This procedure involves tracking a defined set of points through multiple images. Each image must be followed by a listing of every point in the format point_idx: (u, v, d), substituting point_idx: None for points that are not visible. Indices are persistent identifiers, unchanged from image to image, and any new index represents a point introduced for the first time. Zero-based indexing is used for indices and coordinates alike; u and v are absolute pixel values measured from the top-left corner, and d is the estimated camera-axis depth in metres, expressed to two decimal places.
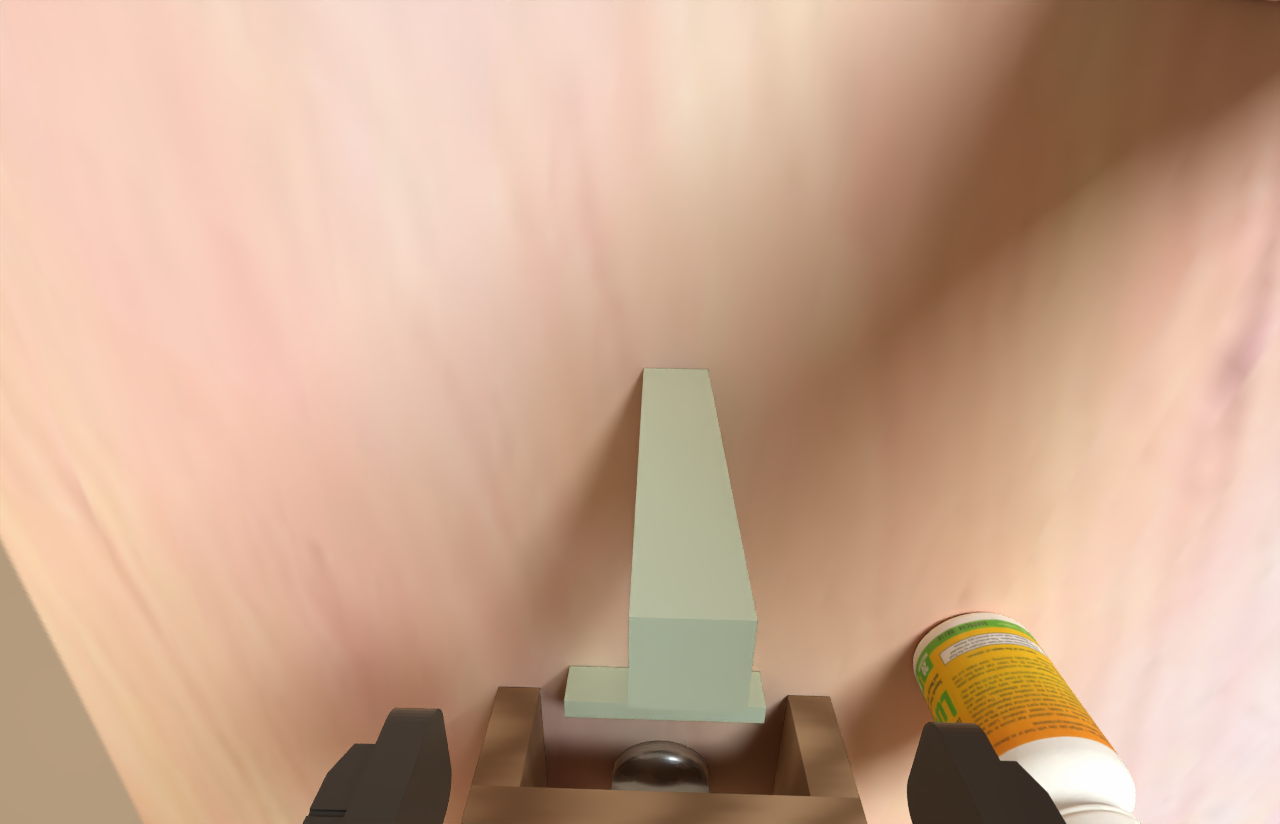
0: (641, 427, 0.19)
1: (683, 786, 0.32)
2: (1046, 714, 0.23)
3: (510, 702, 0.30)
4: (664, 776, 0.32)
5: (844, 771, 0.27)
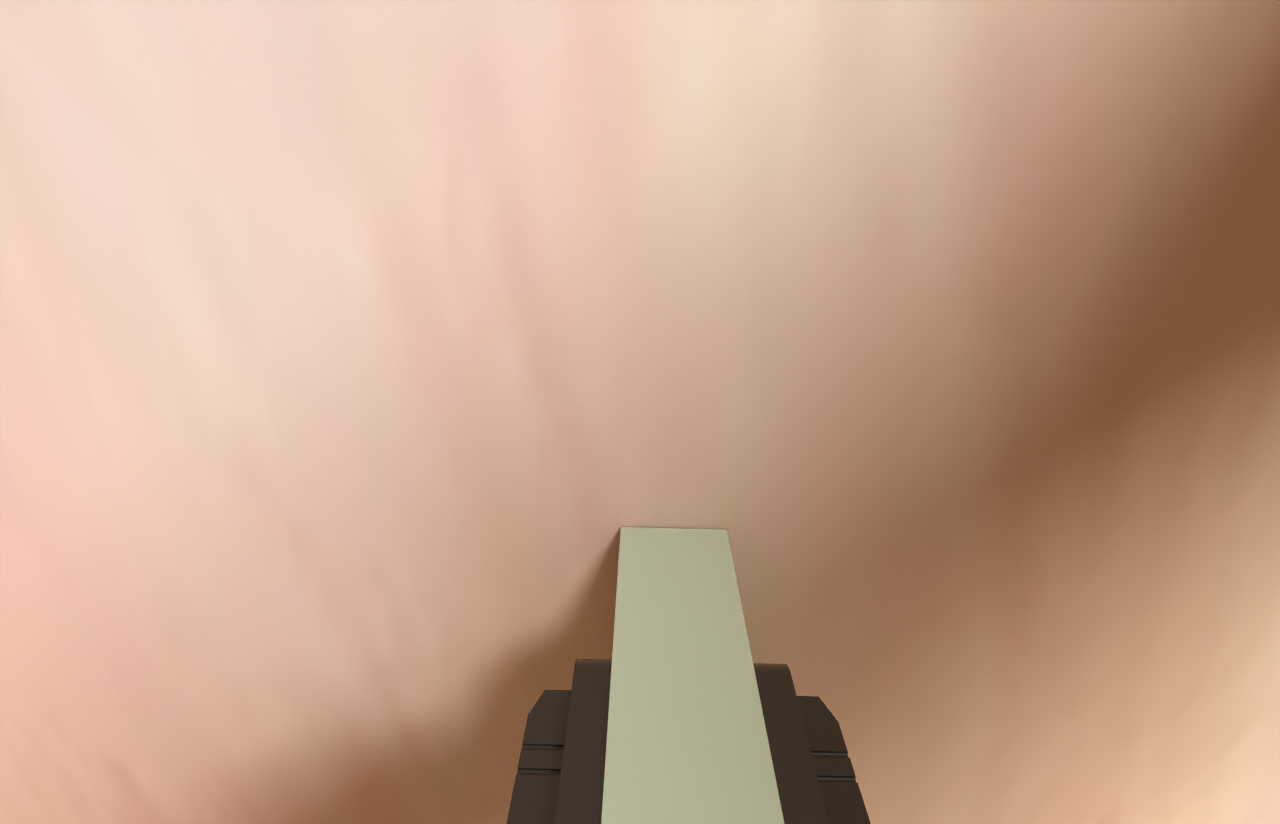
0: (611, 715, 0.10)
1: None
2: None
3: None
4: None
5: None
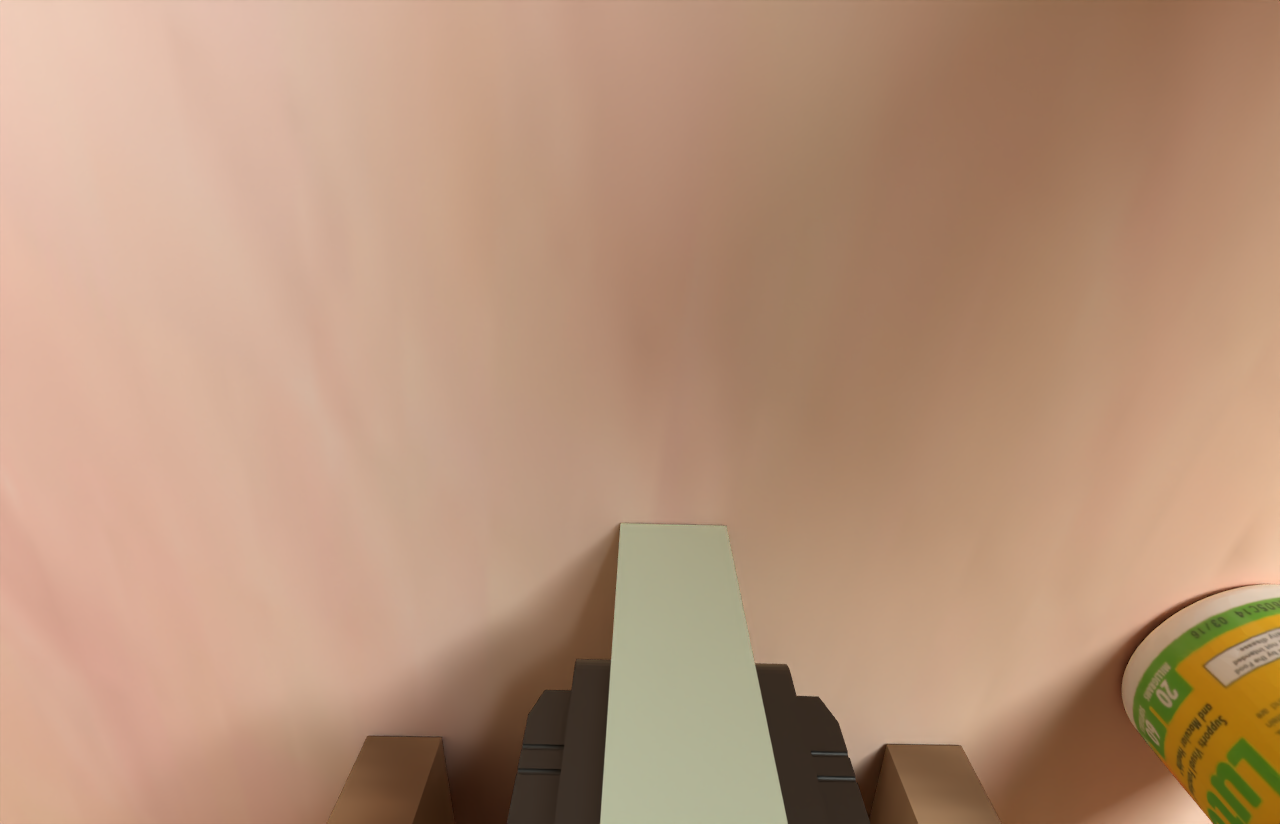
0: (610, 704, 0.10)
1: None
2: None
3: (382, 766, 0.16)
4: None
5: None
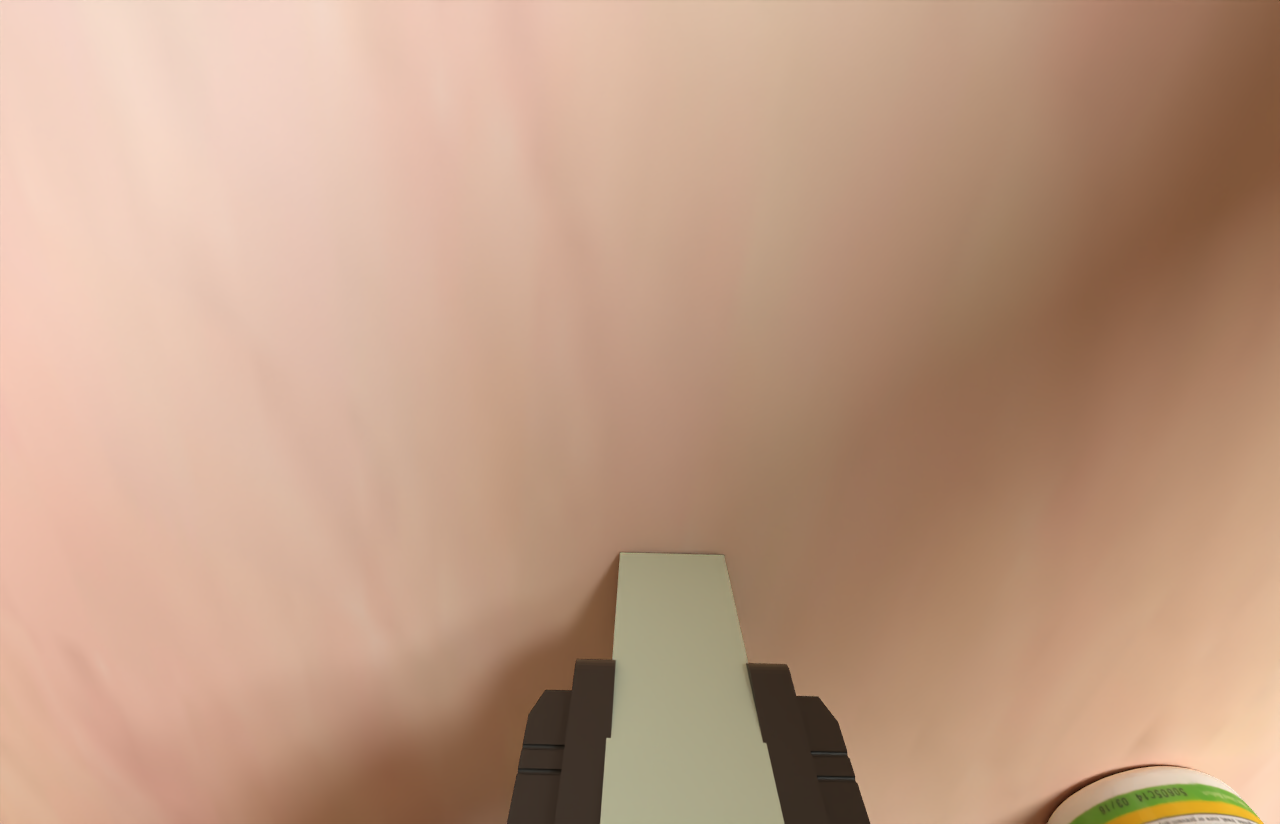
0: None
1: None
2: None
3: None
4: None
5: None
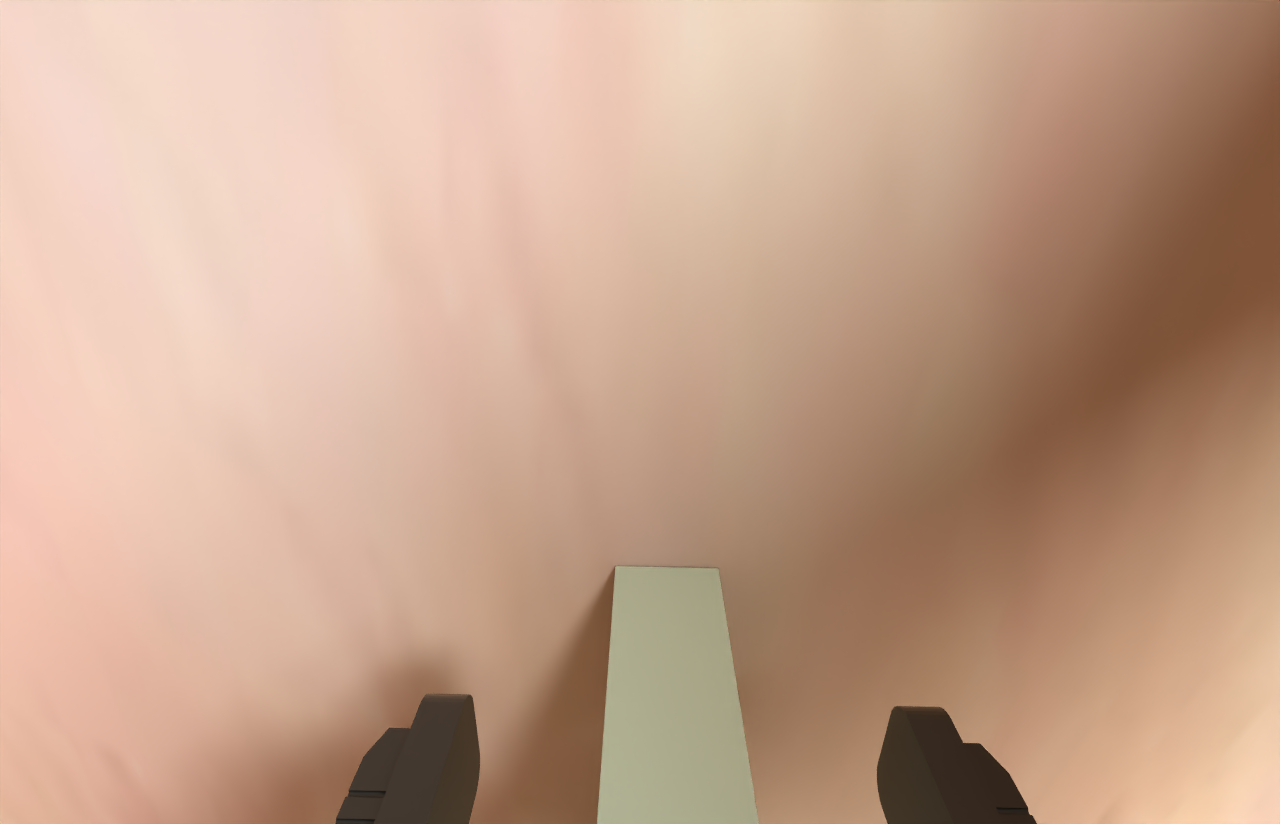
0: (603, 763, 0.10)
1: None
2: None
3: None
4: None
5: None
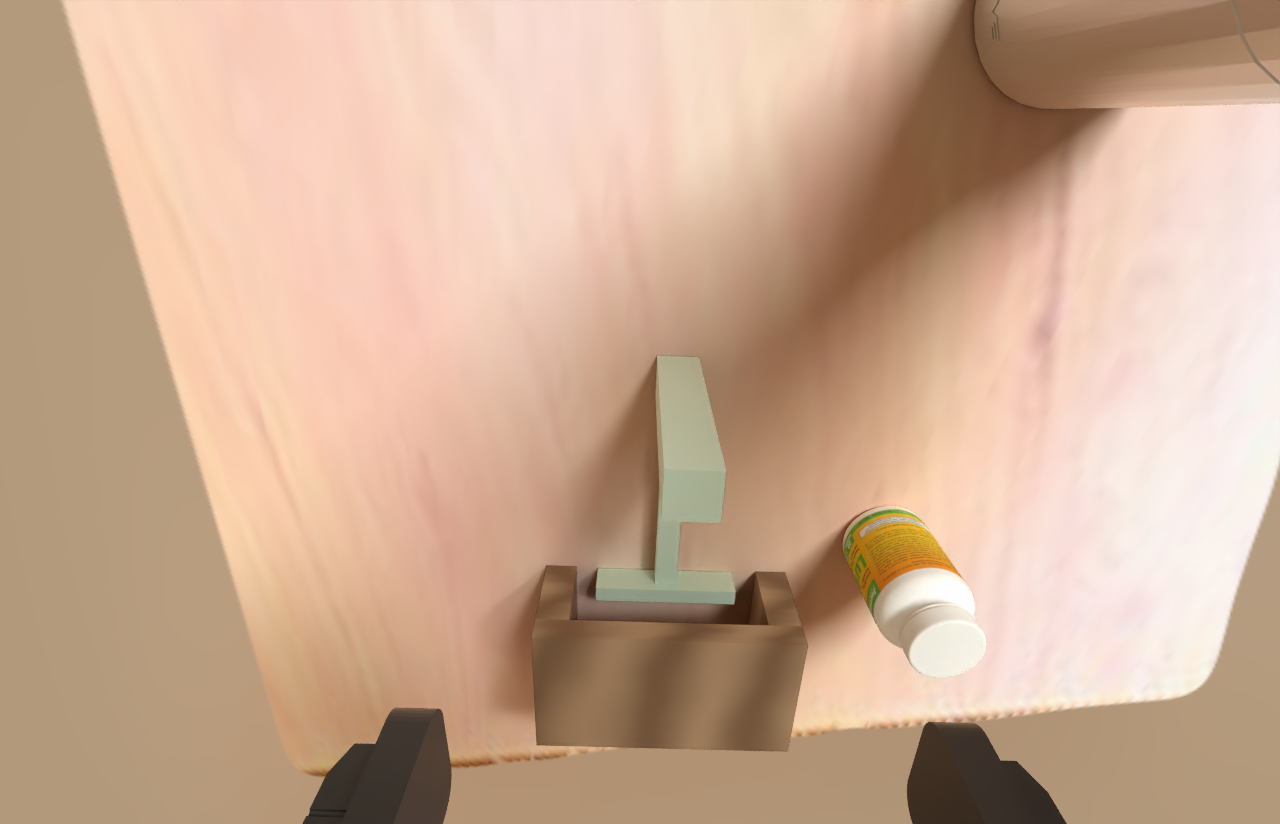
0: (660, 389, 0.32)
1: None
2: (920, 557, 0.35)
3: (556, 574, 0.42)
4: None
5: (792, 612, 0.39)
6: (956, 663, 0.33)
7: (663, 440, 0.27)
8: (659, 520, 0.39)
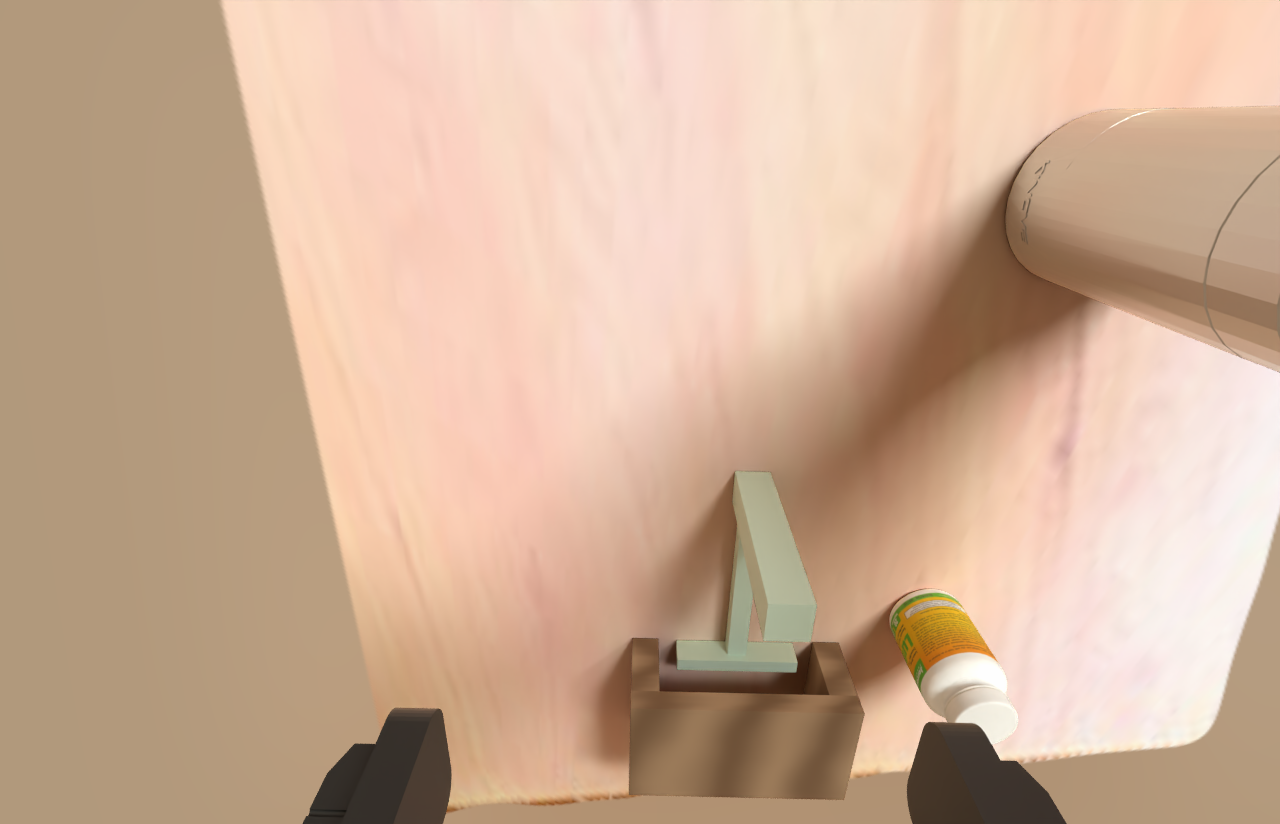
0: (746, 512, 0.38)
1: None
2: (960, 641, 0.42)
3: (641, 647, 0.48)
4: None
5: (848, 682, 0.46)
6: (993, 735, 0.40)
7: (761, 572, 0.33)
8: (733, 604, 0.46)
